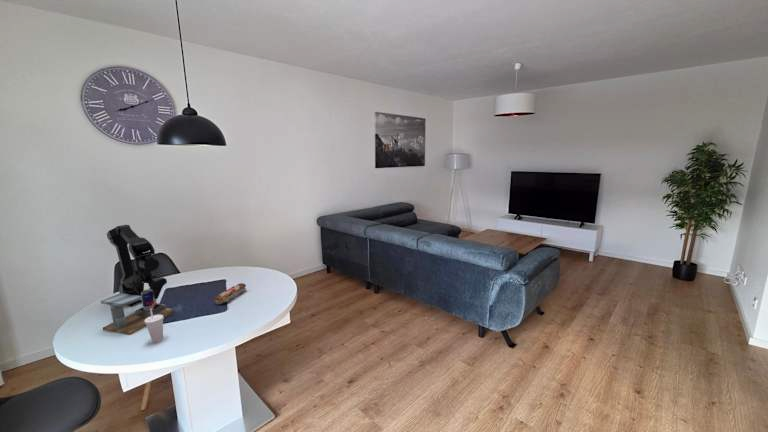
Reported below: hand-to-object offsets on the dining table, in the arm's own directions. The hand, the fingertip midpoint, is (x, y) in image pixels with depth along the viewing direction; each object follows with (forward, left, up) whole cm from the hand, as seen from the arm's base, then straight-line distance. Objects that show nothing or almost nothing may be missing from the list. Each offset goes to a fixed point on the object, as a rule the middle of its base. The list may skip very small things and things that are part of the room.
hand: (148, 298), depth 150 cm
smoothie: (+23, -16, -9) cm, 29 cm away
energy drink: (0, 0, -9) cm, 9 cm away
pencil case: (+24, +25, -9) cm, 36 cm away
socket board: (0, -6, -8) cm, 10 cm away
